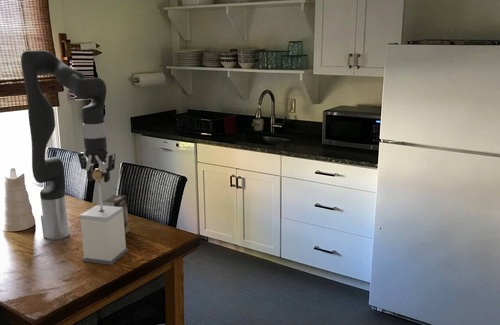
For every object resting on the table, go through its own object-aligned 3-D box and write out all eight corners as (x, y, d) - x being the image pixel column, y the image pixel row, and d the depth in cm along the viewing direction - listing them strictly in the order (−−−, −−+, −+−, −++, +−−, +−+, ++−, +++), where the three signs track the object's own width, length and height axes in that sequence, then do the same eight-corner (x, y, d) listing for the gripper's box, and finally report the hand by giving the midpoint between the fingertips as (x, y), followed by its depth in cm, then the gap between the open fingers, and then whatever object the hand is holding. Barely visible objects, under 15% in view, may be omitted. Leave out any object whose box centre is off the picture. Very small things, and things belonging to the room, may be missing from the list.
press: (82, 261, 173) (77, 215, 169) (104, 244, 187) (100, 201, 183) (111, 264, 170) (107, 218, 166) (131, 247, 184) (128, 204, 180)
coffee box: (119, 239, 192) (116, 202, 188) (105, 238, 193) (101, 201, 189) (129, 231, 200) (126, 195, 196) (115, 230, 202) (112, 194, 198)
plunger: (94, 222, 172) (88, 169, 167) (100, 218, 177) (95, 166, 171) (104, 223, 171) (99, 170, 166) (111, 219, 175) (106, 167, 170)
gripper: (70, 136, 164) (75, 182, 168) (107, 138, 161) (111, 185, 165) (83, 132, 171) (87, 177, 175) (118, 134, 168) (122, 179, 172)
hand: (98, 181), depth 170 cm, fingers open, 5 cm apart
